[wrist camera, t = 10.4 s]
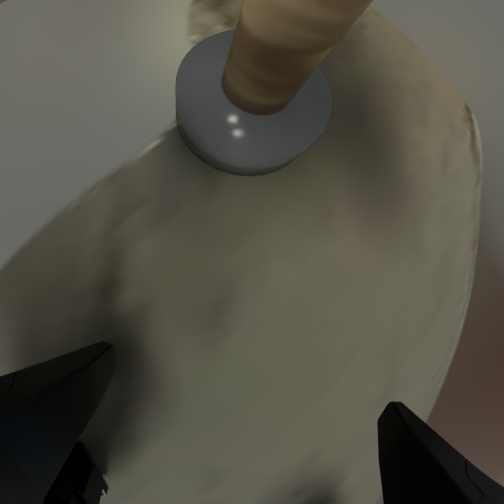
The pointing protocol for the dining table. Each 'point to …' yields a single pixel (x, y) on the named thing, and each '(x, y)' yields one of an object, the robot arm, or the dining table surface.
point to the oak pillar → (282, 49)
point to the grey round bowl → (243, 116)
